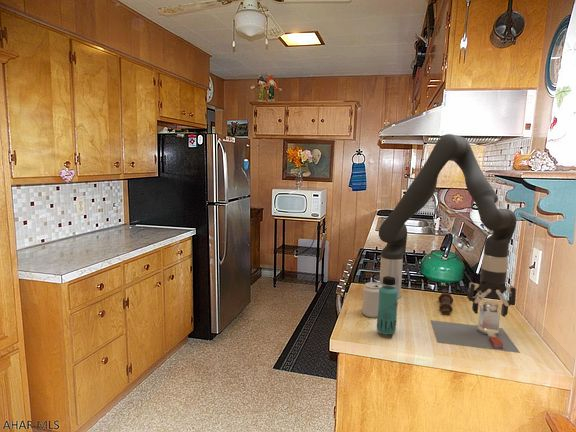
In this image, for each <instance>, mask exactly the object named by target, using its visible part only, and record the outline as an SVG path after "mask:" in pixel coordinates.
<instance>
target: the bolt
mask: <svg viewBox="0 0 576 432" xmlns="http://www.w3.org/2000/svg"><path fill="white" fill-rule="evenodd" d="M438 301H439V303H440V305H439V307H438V308H439V311H440V312H441V314H442V315H443V316H450V315H451V313H452V312H453V311H454V310H453V306H452V304H453V302H454V298H453V296H452V295H451V293H448V292H442V293H440V295H439V296H438Z"/></svg>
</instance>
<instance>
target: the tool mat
mask: <svg viewBox="0 0 576 432" xmlns="http://www.w3.org/2000/svg"><path fill="white" fill-rule="evenodd" d="M429 322H430V324H431V326H432V329H433V334H434V336H435V340H436V343H438V344H446V345H452V346H453V345H455V346H460V347H461V346H462V347H469V348H477V349H486V350H487V349H488V350H494V351H500V352H509V353H519V354H521V352H520V350H519V349H518V347H517V346H516V345H515V343H514V342H513V340H512V339H511V338H510V337H509V335H508V334H507V333H506V331H505V329H503V328H502V327H499V332H498V336H496V337H498V338H499V339H500V341H501V342H502V343H503V349H497V348H493V347H492V345H491V343H490V342H489V338H488V337H487V336H486V335H483V334H481V333H479V332H478V331H477V328H478V324H477V325H474V324H468V323H467V324H465V323H460V322H459V323H457V322H451V321H449V322H448V321H440V320H432V319H430V321H429Z"/></svg>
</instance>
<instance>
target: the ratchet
mask: <svg viewBox="0 0 576 432" xmlns="http://www.w3.org/2000/svg"><path fill="white" fill-rule="evenodd" d="M477 326H478V328H477V331H478V332H479V333H481V334H483V335H486V336H487V337H488V338H489V342H490V343H491V345H492V347H493V348H497V349H503V343H502V342H501V341H500V339H499V338H498V337H496V336H498V332H499V330H493V329H484V328H482V327H481V326H480V324H479V322H478V323H477Z"/></svg>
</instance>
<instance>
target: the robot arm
mask: <svg viewBox="0 0 576 432" xmlns="http://www.w3.org/2000/svg"><path fill="white" fill-rule="evenodd" d="M476 158H477V157H476V156H475V153H474V150H473V148H472V147H471V144H470V142H469V140H468V139H466V138H465V137H463V136H459V135H457V134H456V135H455V134H452V133H447V134H444V135H442V136H441V137H440V138H439V139H438V140H437V142H436V143H435V145H434V146H433V148H432V150H431V152H430V154H429V156H428V157H427V159H426V161H425V163H424V165H423V166H422V167H421V169H420V170H419V172H418V174H417V175H416V177H415V178H414V179H413V181H412V182H411V184H410V185H409V186H408V188H407V190H406V191H405V193H404V194H403V196H402V197H401V199H399V201H398V202H397V205H396V206H395V208H394V209H393V210H392V211H391V212H390V214H389V215H388V216H387V217H386V218H385V220H384V221H382V223H381V224H380V227H379V229H378V237H379V239H380V240H381V242H383V243H386V245H385V246H384V247H383V249H382V250H381V253H380V268H379V282H378V283H379V284H381V285H382V286H386V285H385V284H383V277H385V276H390V277H394V278H395V285H388V286H393V287H395V288H396V289H397V290H398V297H397V299H400V298H401V295H402V294H401V293H402V279H403V266H404V265H403V263H404V255H405V253H406V249H407V242H408V241H407V240H408V228H407V226H406V223H407V222H408V221H409V220H410V219H411V218H412V217H413V216H414V215H415V214H417V213H418V212H420V211H421V209H423V208H424V207H425V206H426V205H427V203H428V202H429V201H430V199H431V198H432V197H433V196H434V194H435V192H436V189H437V184H438V179H439V175H440V173H441V172H442V170H443V168H444V167H445V166H446V164H447V163H449V161H450V162H454V163H455V164H456V165H457V166H458V167H459V169H460V170H461V171H462V173H463V177H464V182H465V187H466V189H467V192H468V193H469V195H470V197H471V198H472V200H473V202H474V203H475V205H476V207H477V212H478V214H479V215H478V216H479V218H480V221H481V223H482V225H483V226H484V227H485V228H486V229H487V230H489V231H493V232H492V234H491V235H490V236H488V237H487V238H485V241H484V247H483V257H482V260H481V269H480V279H479V283H476V282H475V283H474V282H472V281H470V282H469V283H468V290H467V296H466V298H467V299H468V300H469V301H470V302H472V308H471V310H472V311H473V312H474V314H476V315H477V314H478V313H479V312H478V311H479V302H480V301H481V300H483V299H484V298H485V297H486V298H487V299H488V298H489V299H490V298H492V299H496V300H497V299H500V301H501V302H502V304H501V310H500V316H502V317H506V316H508V313H509V306H515V305H516V297H517V296H516V294H517V293H516V292H517V288H515V286H513V285H510V286H507V285H506V284H507V283H506V282H507V273H508V267H509V266H508V265H509V264H508V263H509V262H508V257H509V247H510V242H511V240H512V238H513V236H514V233H515V230H516V227H517V217H516V214H515V213H514V212H513V210H511V209H508V208H498V207H497V206H496V204H497V202H498V201H499V196H498V194H497V192H496V191H495V190H494V188H493V187H492V185H491V184H490V182H489V181H488V179H487V177H486V176H485V174H484V172H483V170H482V169H481V166H480V165H479V163H478V159H476ZM477 289H479V291H478V292H476V294H475V296H474V293H475V291H476V290H477ZM506 291H507V293H508V300H507V299H506V298H505V297H504V295H503V294H505V292H506Z"/></svg>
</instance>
